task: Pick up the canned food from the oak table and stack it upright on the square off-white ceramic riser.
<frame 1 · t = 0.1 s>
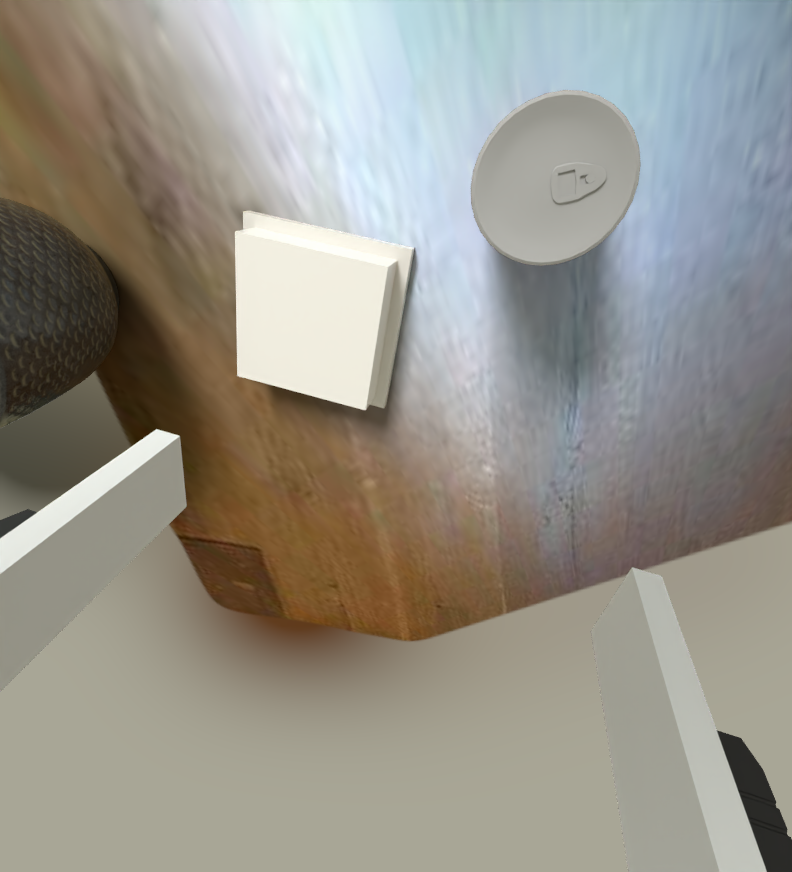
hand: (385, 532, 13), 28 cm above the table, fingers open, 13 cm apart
canned food: (542, 182, 32), on the table
planter: (80, 283, 45), on the table
riser: (322, 314, 40), on the table
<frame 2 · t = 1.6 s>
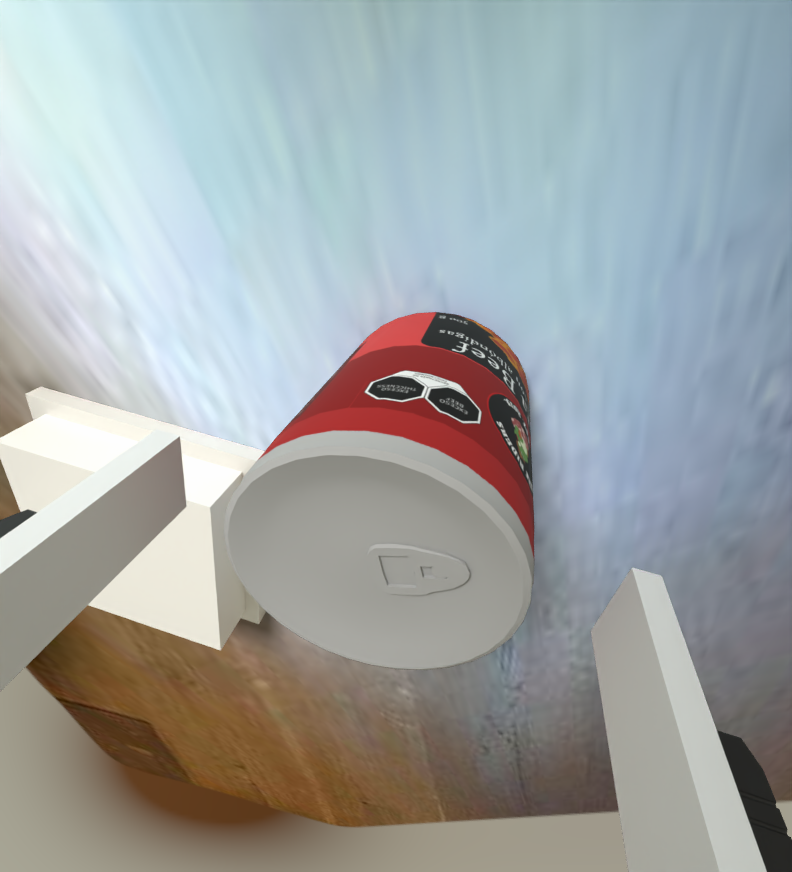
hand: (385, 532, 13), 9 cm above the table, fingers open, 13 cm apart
canned food: (437, 389, 21), on the table
riser: (165, 511, 29), on the table
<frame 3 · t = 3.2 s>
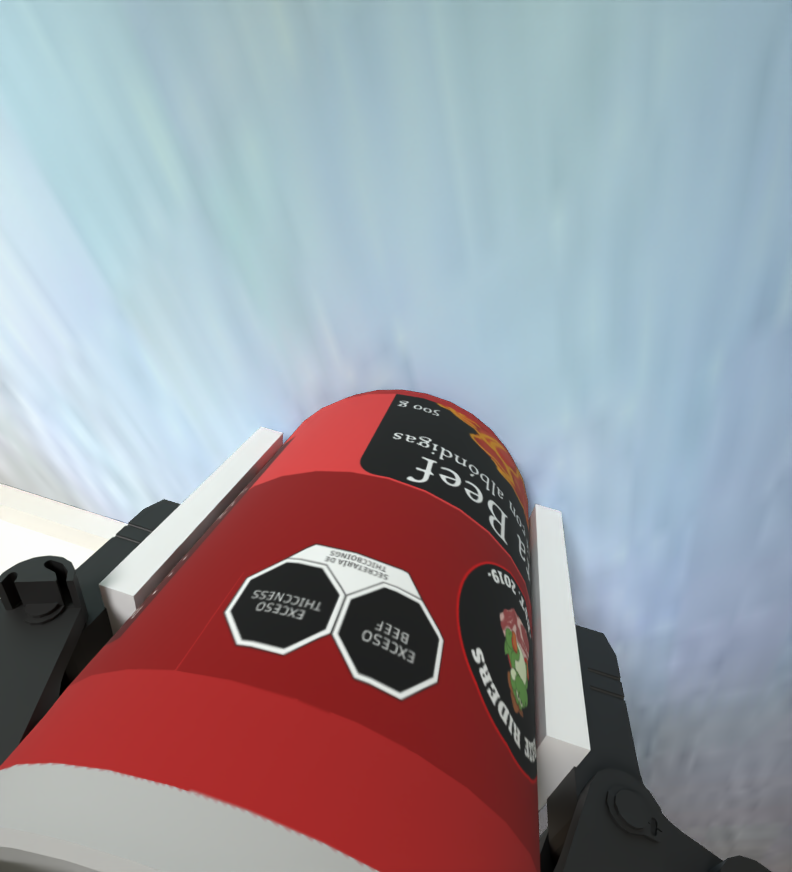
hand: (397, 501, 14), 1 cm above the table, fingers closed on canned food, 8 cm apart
canned food: (404, 484, 15), on the table, touching gripper
riser: (79, 601, 24), on the table
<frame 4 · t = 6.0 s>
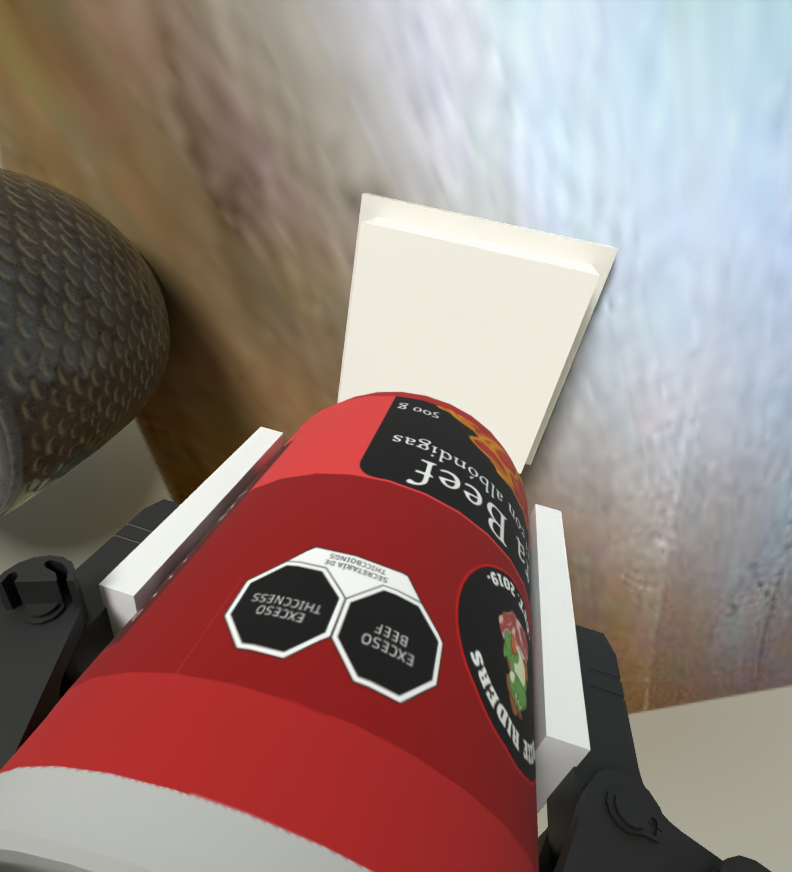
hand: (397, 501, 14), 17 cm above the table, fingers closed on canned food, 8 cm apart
canned food: (403, 485, 15), point 16 cm above the table, touching gripper
planter: (116, 294, 33), on the table
riser: (457, 338, 29), on the table
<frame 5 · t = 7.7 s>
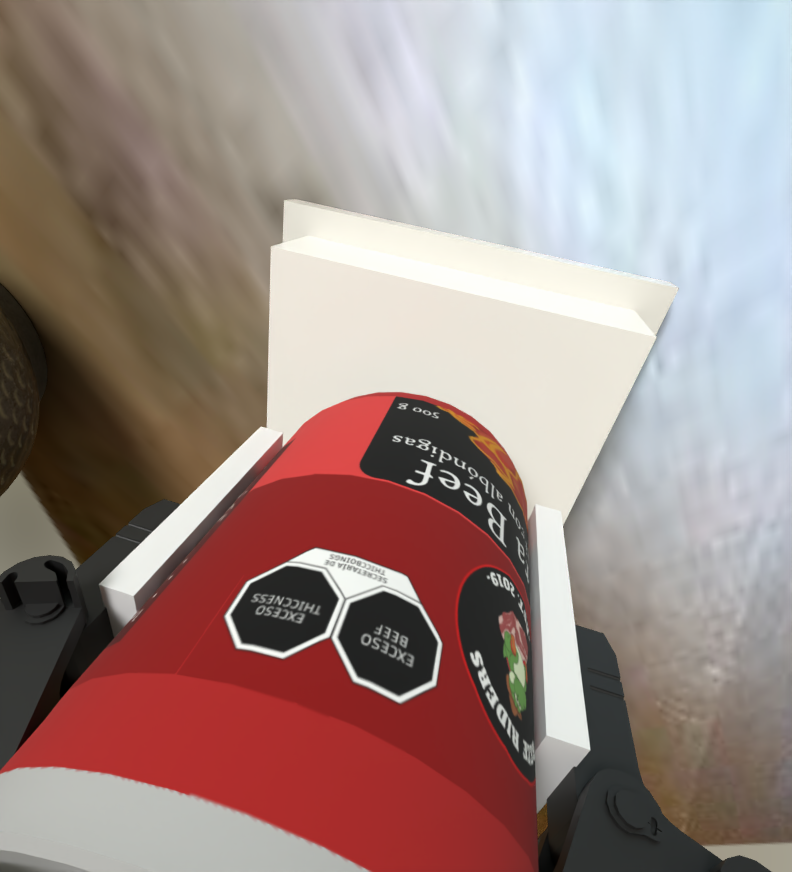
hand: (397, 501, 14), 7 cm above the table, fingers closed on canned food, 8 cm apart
canned food: (403, 485, 15), point 6 cm above the table, touching gripper
riser: (433, 405, 20), on the table
when the fingers open (6 cm above the table, at t = 8.9 s): canned food stays where it is, resting on riser.
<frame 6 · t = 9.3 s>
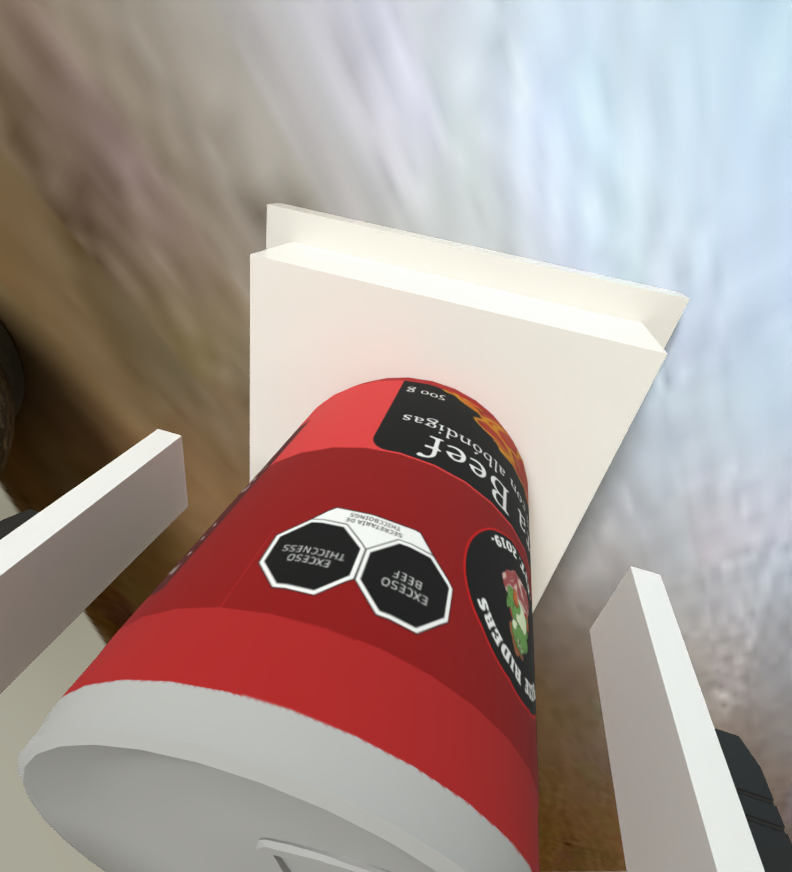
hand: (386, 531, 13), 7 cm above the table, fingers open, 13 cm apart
canned food: (410, 468, 16), point 4 cm above the table, touching riser
riser: (428, 419, 19), on the table
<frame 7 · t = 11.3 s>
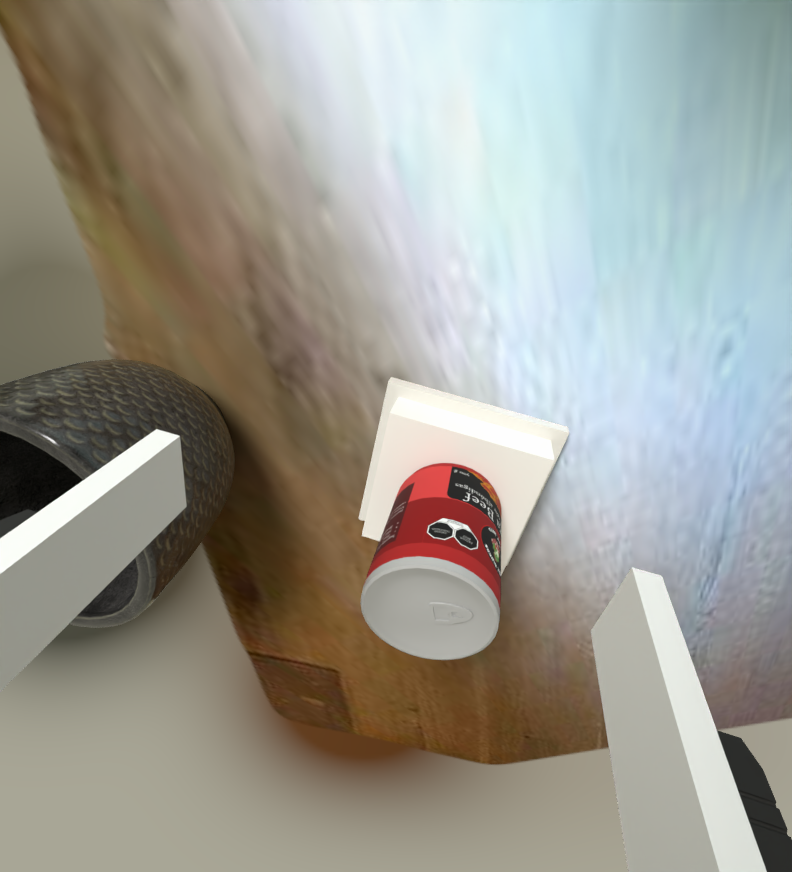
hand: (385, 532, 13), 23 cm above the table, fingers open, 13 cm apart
canned food: (449, 500, 35), point 4 cm above the table, touching riser
planter: (185, 421, 42), on the table
riser: (453, 474, 39), on the table
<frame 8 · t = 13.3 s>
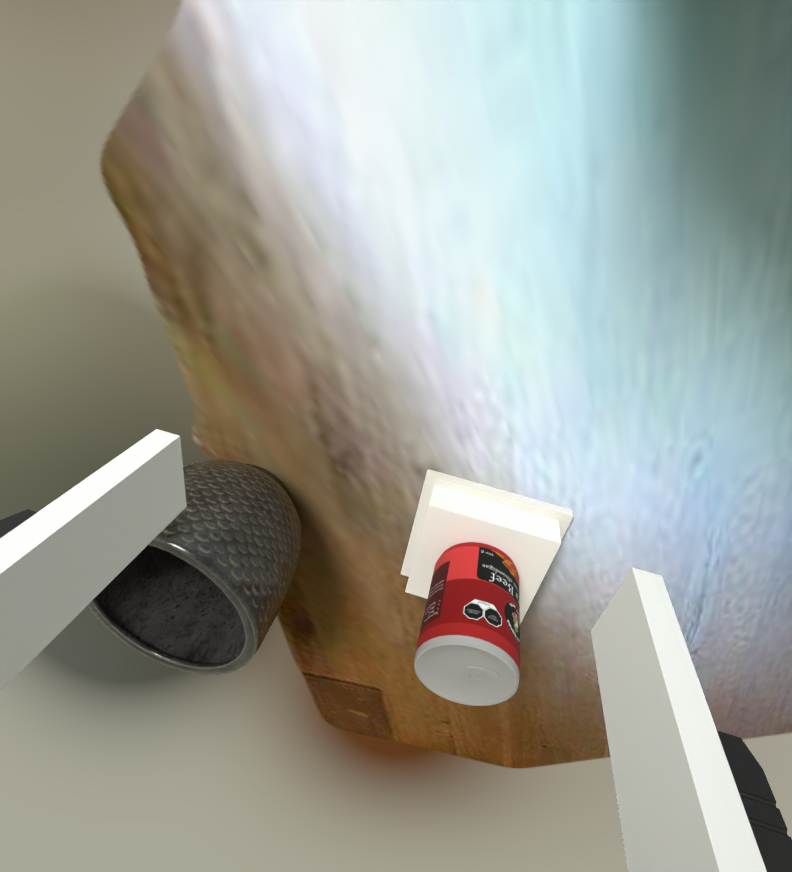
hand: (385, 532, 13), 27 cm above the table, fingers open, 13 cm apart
canned food: (476, 568, 44), point 4 cm above the table, touching riser
planter: (256, 495, 52), on the table
riser: (479, 541, 47), on the table
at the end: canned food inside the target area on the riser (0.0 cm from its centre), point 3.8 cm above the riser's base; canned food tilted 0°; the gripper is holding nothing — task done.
